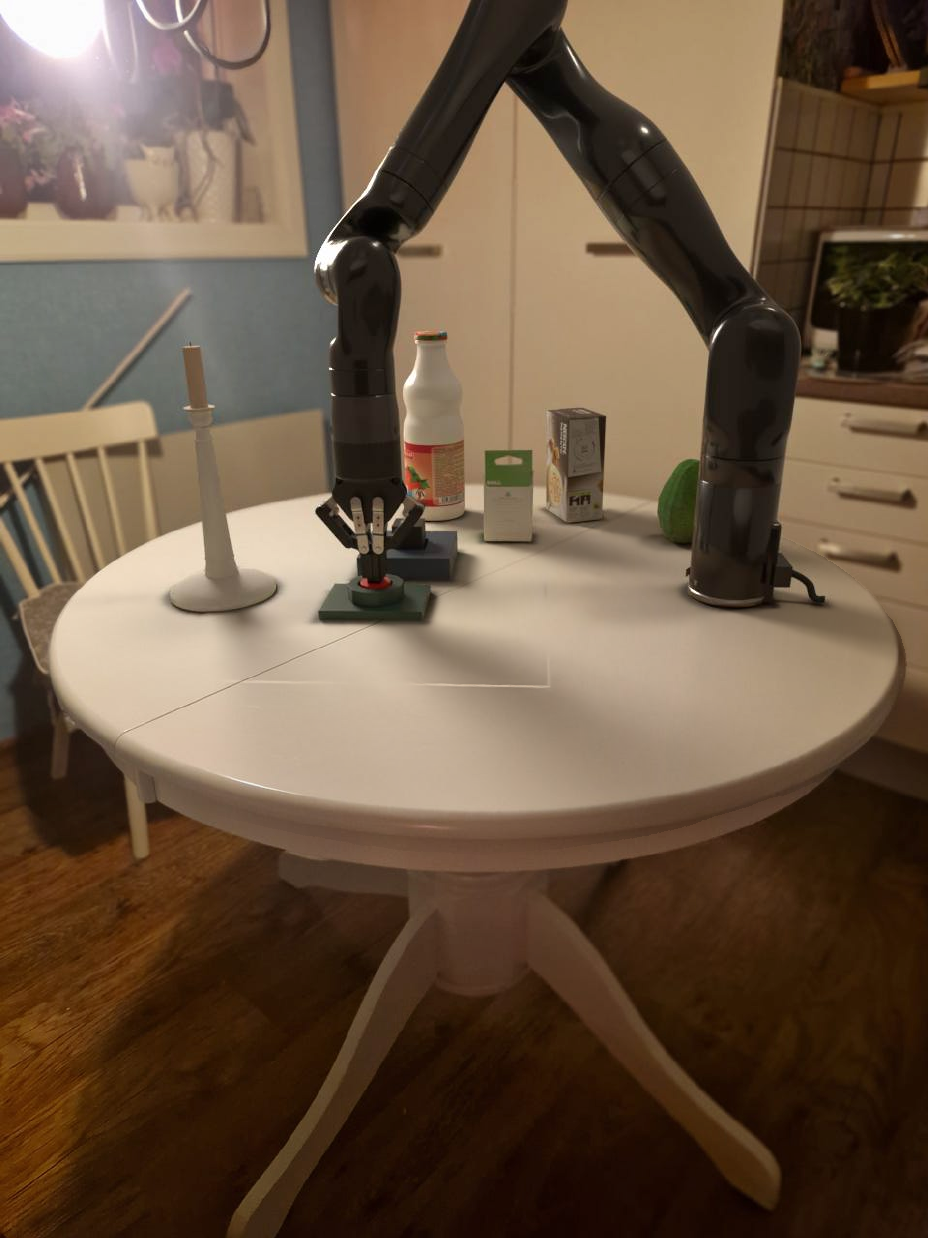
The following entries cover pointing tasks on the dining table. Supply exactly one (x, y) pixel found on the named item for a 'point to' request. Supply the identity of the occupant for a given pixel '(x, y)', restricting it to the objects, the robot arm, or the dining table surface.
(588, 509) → the coffee box
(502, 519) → the ink box
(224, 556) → the candlestick
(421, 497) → the fruit juice
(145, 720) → the dining table surface
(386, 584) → the power button
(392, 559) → the square socket block
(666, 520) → the avocado
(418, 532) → the block
